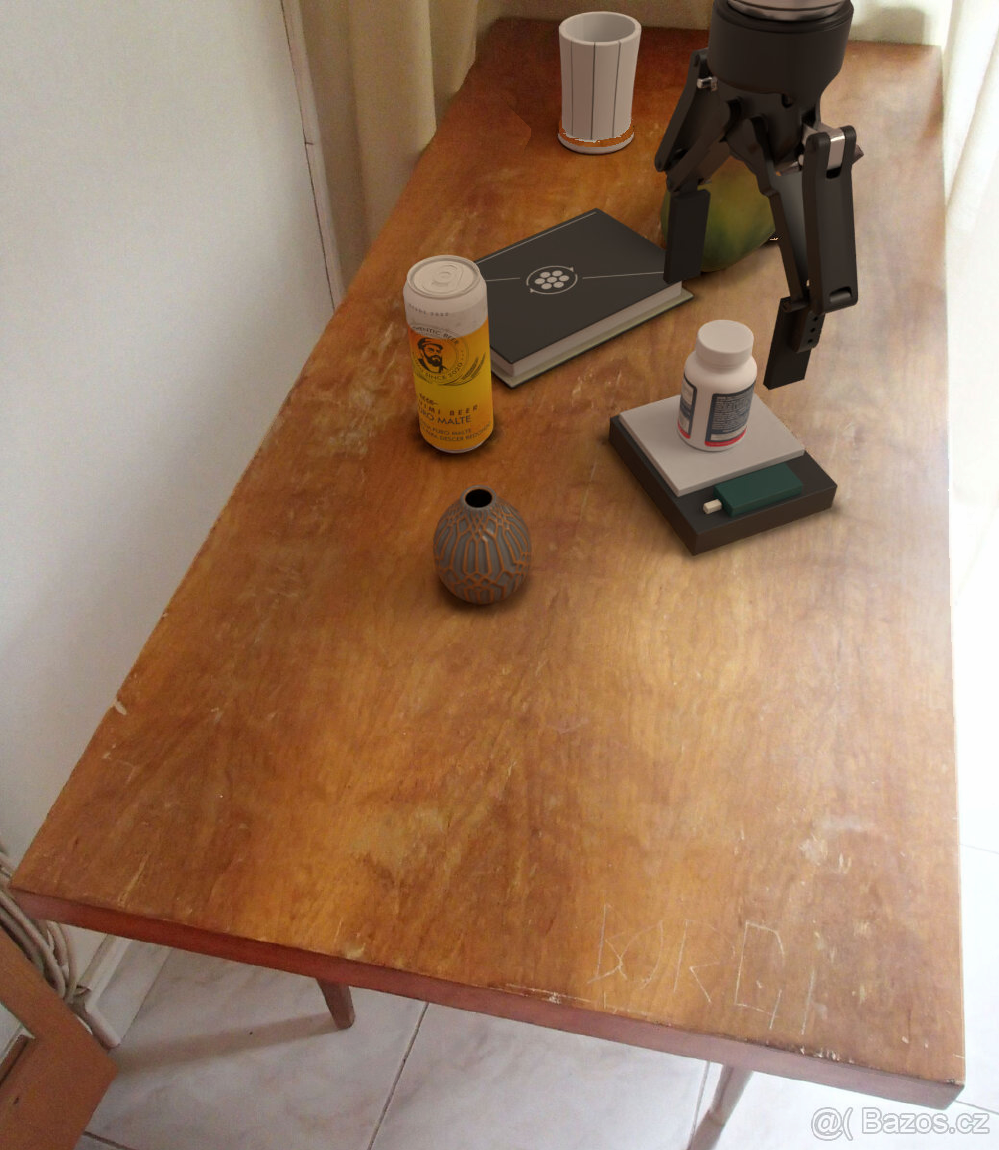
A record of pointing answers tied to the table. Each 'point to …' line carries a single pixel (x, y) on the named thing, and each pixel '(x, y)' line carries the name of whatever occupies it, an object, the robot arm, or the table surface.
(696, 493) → the scale
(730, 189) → the fruit
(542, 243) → the book
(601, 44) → the cup
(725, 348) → the pill bottle
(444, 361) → the beer can
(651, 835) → the table surface
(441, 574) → the vase
